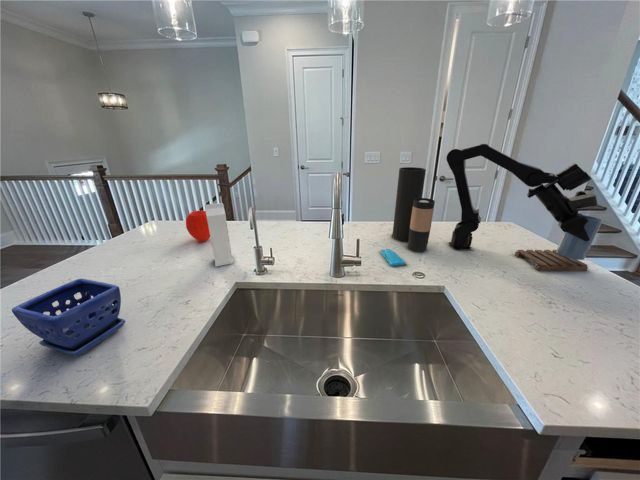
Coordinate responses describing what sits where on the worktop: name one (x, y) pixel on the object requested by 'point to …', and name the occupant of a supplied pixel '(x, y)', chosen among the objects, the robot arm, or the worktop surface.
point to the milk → (219, 233)
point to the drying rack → (552, 261)
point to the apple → (198, 225)
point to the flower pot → (73, 315)
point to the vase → (407, 199)
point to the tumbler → (579, 240)
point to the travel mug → (420, 224)
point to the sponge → (392, 257)
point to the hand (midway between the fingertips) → (584, 236)
